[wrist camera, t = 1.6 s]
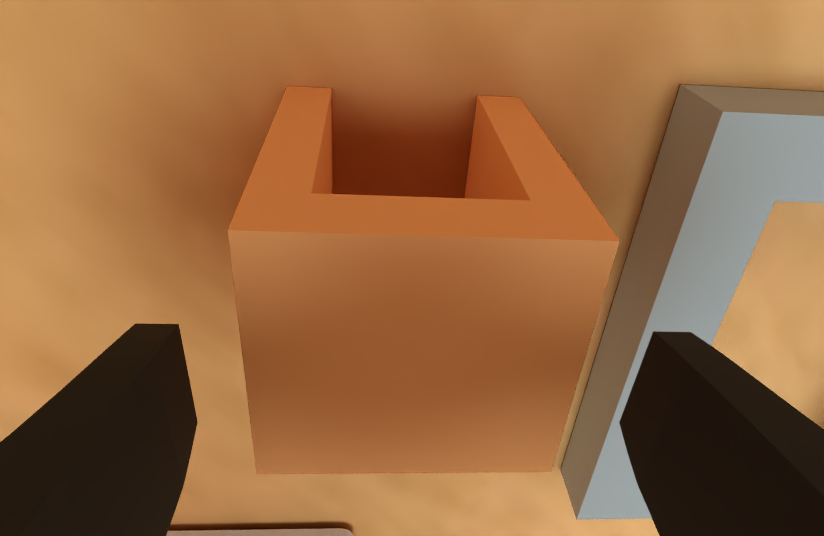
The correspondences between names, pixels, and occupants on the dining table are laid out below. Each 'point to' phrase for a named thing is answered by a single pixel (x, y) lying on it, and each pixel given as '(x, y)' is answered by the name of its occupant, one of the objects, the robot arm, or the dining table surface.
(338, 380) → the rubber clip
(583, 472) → the grey rod frame
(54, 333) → the dining table surface
